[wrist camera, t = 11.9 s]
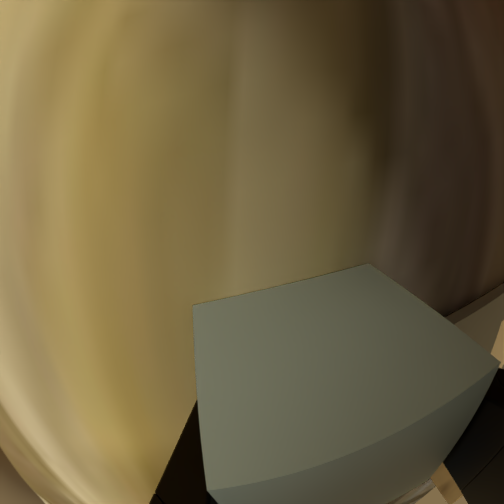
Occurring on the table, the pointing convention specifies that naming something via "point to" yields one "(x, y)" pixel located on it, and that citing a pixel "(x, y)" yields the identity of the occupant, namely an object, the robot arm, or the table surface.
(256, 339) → the grey cube
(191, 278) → the table surface
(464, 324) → the letter board
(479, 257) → the table surface
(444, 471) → the birch block
